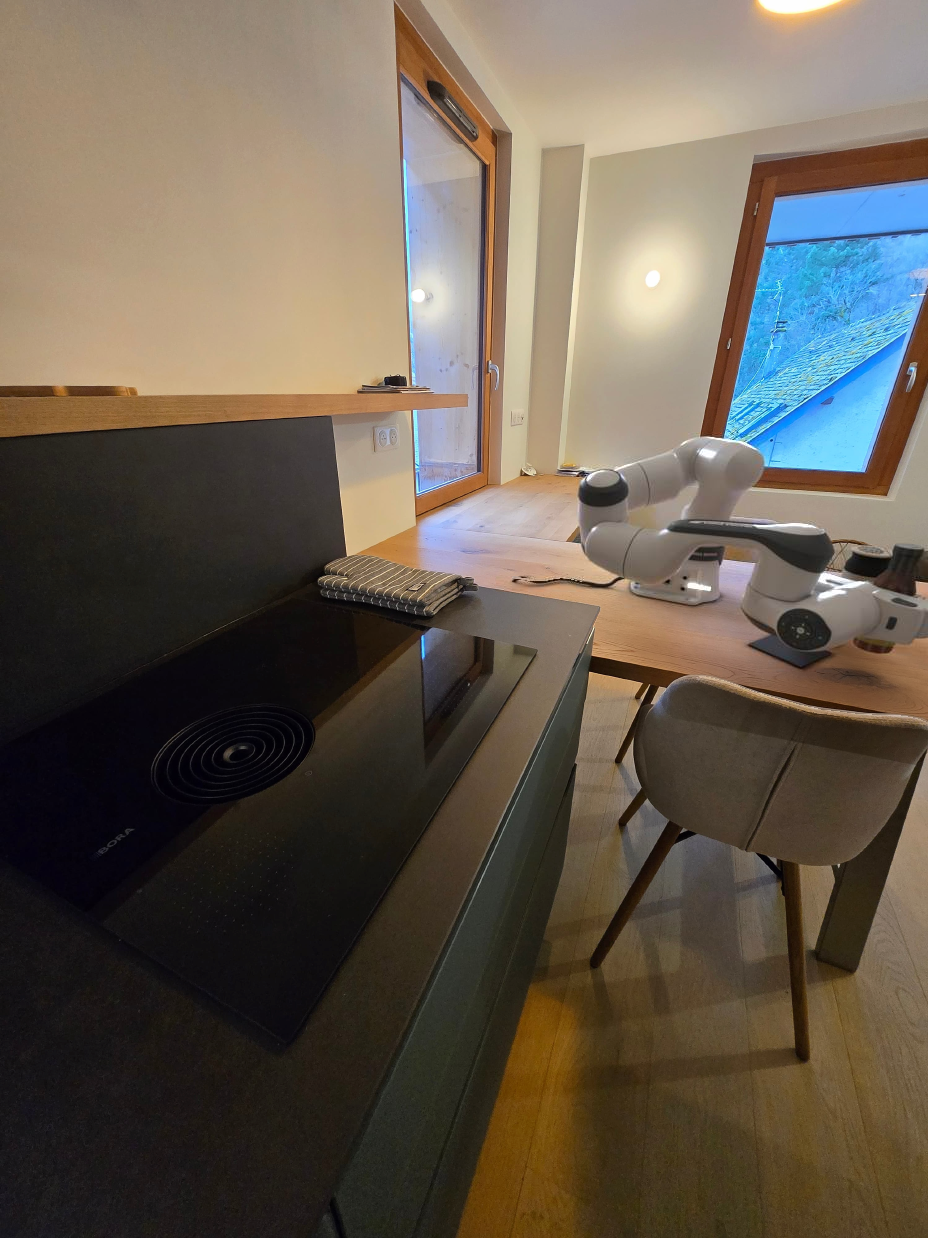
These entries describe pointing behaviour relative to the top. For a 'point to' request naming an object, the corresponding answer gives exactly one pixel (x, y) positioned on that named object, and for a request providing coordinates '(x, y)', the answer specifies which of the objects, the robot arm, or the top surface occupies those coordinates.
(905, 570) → the sauce bottle
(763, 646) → the coaster
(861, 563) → the travel mug
